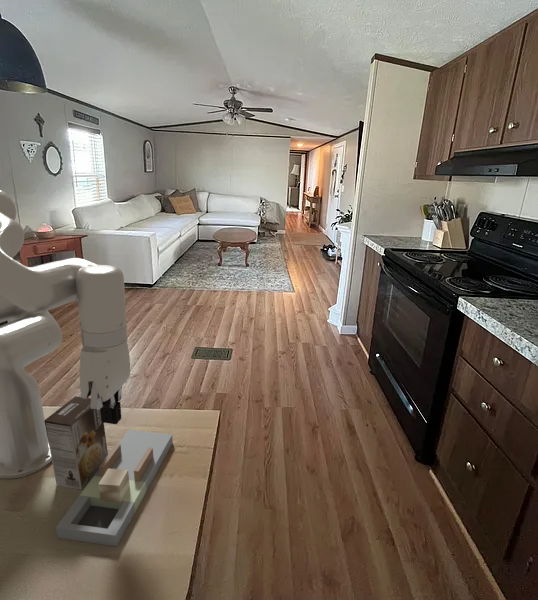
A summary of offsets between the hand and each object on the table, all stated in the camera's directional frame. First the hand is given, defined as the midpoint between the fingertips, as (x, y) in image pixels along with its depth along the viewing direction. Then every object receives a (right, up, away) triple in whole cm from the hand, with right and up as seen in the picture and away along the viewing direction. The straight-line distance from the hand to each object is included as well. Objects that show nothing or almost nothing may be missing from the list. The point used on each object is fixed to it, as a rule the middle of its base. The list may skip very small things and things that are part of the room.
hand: (111, 420), depth 73 cm
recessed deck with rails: (0, -15, +6) cm, 16 cm away
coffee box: (-10, -14, +8) cm, 19 cm away
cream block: (+1, -14, 0) cm, 14 cm away
